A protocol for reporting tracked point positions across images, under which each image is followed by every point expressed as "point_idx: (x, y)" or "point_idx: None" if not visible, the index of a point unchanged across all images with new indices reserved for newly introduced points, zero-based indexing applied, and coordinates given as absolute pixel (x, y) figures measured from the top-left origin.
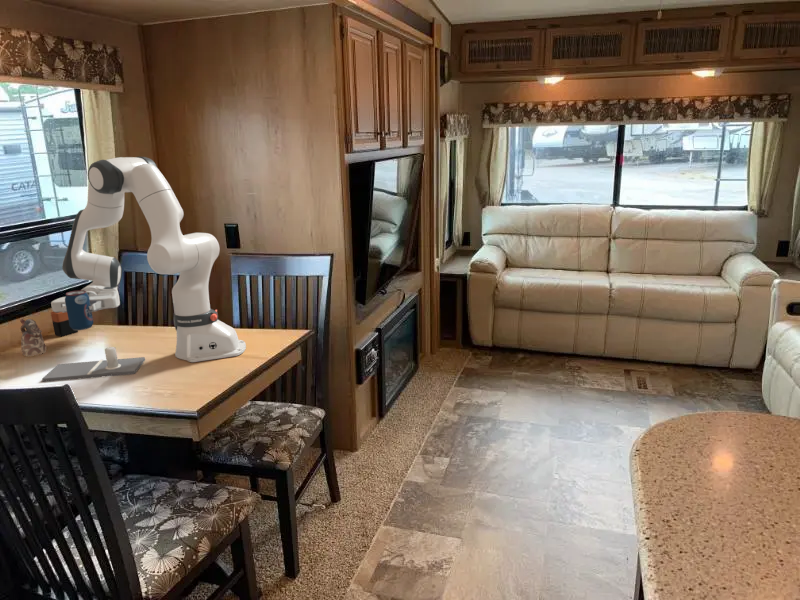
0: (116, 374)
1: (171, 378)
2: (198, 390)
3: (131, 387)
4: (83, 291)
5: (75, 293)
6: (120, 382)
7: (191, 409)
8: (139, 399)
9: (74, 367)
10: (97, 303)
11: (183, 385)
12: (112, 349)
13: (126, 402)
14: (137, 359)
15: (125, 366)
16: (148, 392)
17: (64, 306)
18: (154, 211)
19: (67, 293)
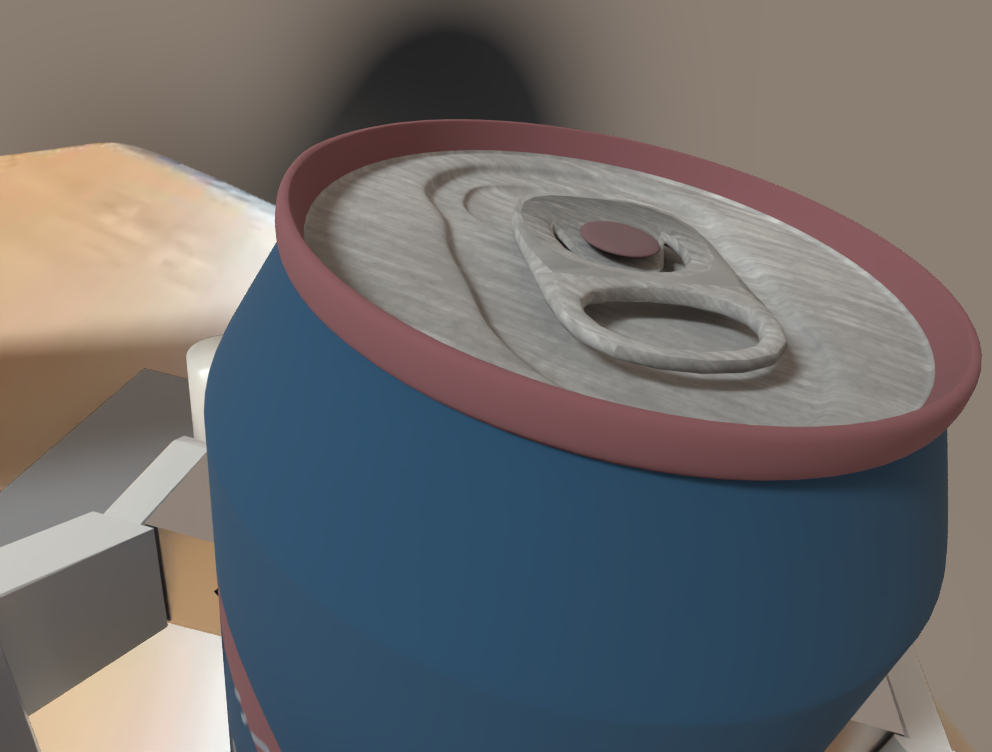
0: None
1: (26, 281)
2: (18, 190)
3: (218, 289)
4: (366, 333)
5: (608, 203)
6: None
7: (119, 147)
8: (224, 224)
9: None
10: (21, 554)
11: (33, 227)
12: (216, 337)
13: (269, 227)
14: (29, 513)
15: (162, 439)
16: (176, 241)
17: (891, 688)
18: None
19: (938, 336)
